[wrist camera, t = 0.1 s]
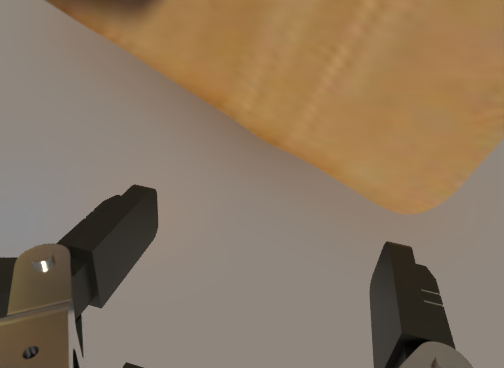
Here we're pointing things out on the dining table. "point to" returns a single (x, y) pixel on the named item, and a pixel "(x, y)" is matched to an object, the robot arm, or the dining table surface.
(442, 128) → the dining table surface
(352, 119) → the dining table surface
